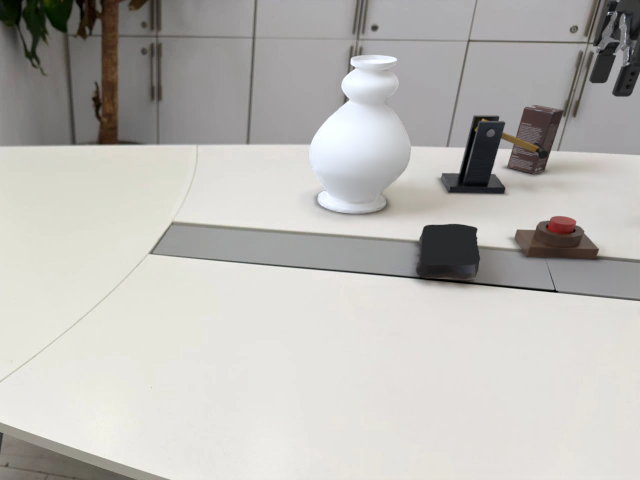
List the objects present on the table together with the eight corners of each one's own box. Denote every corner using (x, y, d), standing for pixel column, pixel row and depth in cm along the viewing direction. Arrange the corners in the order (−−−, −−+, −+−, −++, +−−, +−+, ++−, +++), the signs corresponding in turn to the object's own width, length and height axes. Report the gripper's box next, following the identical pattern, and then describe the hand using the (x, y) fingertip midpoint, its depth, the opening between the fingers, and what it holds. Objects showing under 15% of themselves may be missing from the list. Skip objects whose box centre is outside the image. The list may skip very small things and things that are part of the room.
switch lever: (534, 154, 130) (542, 142, 129) (542, 162, 126) (551, 150, 125) (472, 128, 129) (480, 116, 128) (479, 135, 125) (487, 123, 124)
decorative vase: (287, 192, 134) (301, 55, 119) (366, 180, 138) (389, 46, 123) (333, 225, 120) (355, 74, 105) (420, 211, 124) (453, 63, 109)
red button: (568, 226, 108) (571, 216, 107) (576, 235, 105) (580, 224, 104) (543, 225, 109) (547, 215, 108) (551, 234, 106) (554, 224, 105)
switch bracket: (493, 179, 135) (511, 113, 128) (504, 193, 129) (524, 124, 122) (440, 178, 137) (456, 113, 130) (448, 192, 131) (465, 124, 123)
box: (545, 170, 139) (565, 109, 132) (532, 175, 137) (552, 113, 130) (518, 163, 143) (536, 103, 136) (505, 167, 141) (522, 107, 134)
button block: (579, 240, 111) (586, 220, 109) (595, 259, 105) (603, 238, 103) (513, 238, 113) (520, 218, 111) (526, 256, 107) (533, 236, 105)
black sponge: (475, 289, 99) (482, 266, 97) (414, 281, 102) (419, 259, 99) (472, 245, 111) (478, 224, 109) (417, 239, 114) (422, 218, 112)
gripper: (719, -44, 79) (660, 101, 89) (664, -52, 91) (617, 78, 100) (649, -42, 80) (598, 101, 90) (603, -50, 92) (562, 78, 101)
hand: (608, 89), depth 95 cm, fingers open, 8 cm apart
